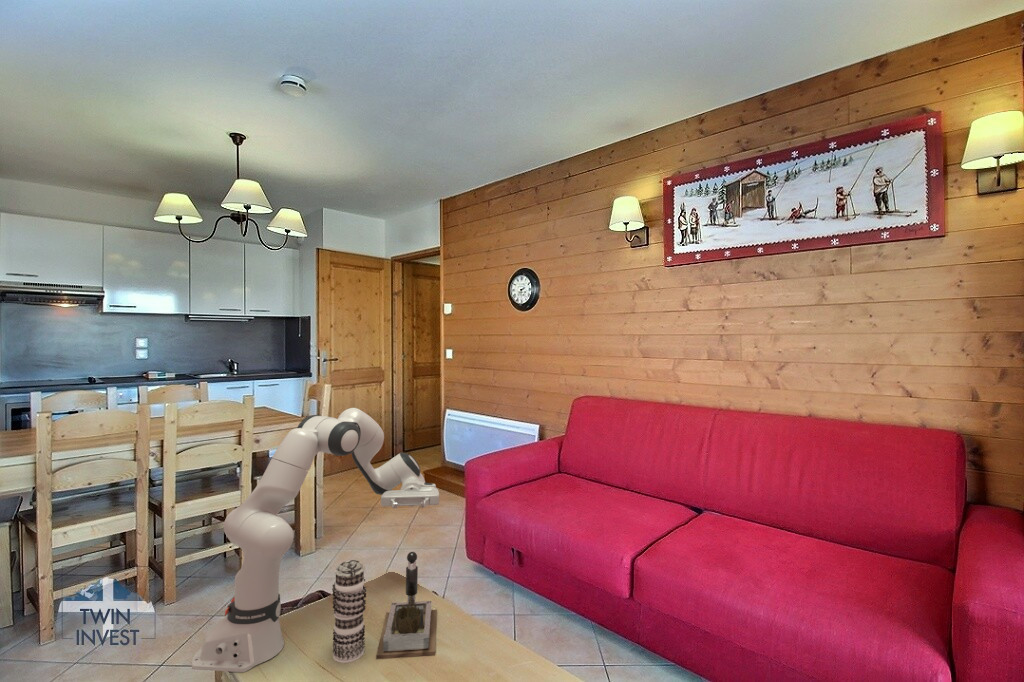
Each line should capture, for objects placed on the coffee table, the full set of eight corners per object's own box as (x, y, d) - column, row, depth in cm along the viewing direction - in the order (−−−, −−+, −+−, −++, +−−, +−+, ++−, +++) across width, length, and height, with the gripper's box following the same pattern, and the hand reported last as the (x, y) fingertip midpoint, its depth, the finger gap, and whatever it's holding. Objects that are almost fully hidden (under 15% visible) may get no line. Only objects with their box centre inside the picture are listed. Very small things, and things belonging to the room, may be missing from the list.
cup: (415, 648, 140) (415, 620, 140) (391, 644, 141) (391, 616, 141) (424, 632, 147) (425, 606, 147) (401, 629, 149) (402, 603, 149)
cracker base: (376, 659, 135) (376, 637, 135) (386, 615, 156) (386, 596, 156) (434, 655, 137) (435, 633, 137) (436, 612, 158) (437, 594, 158)
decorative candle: (328, 648, 139) (330, 560, 139) (362, 639, 143) (363, 554, 143) (333, 667, 131) (334, 574, 131) (369, 657, 135) (370, 567, 135)
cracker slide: (383, 651, 136) (384, 582, 136) (391, 610, 157) (392, 550, 157) (428, 648, 138) (429, 580, 138) (431, 608, 158) (432, 548, 158)
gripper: (383, 485, 178) (377, 497, 165) (439, 483, 181) (439, 495, 167) (382, 502, 178) (377, 515, 165) (439, 500, 181) (438, 513, 167)
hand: (408, 505), depth 166 cm, fingers open, 8 cm apart
